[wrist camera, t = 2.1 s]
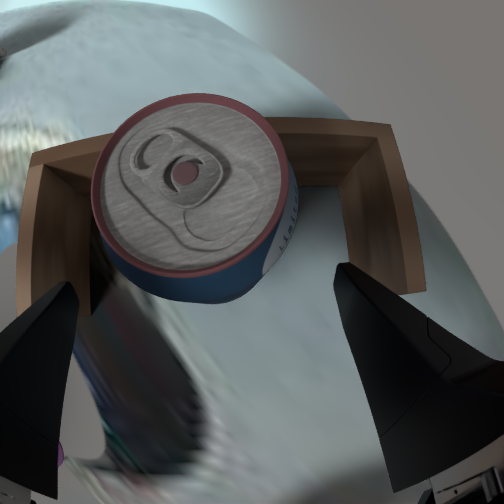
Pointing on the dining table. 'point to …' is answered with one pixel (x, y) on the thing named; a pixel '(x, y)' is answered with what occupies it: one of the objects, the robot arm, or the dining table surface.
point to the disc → (2, 52)
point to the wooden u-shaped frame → (306, 173)
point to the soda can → (195, 198)
